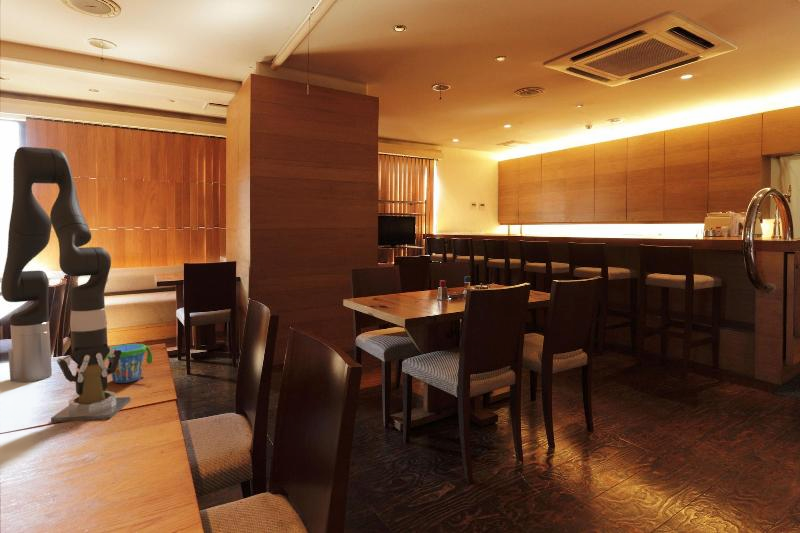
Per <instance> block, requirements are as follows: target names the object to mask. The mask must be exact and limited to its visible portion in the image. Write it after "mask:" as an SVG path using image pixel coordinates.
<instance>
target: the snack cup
mask: <svg viewBox="0 0 800 533" xmlns="http://www.w3.org/2000/svg"><path fill="white" fill-rule="evenodd" d="M109 348H110V349H118V350H120V351H121V355H120V358H119V361H118V364H117V367H116V370H115V372H114V373H111V374H110V375H111V379H112V381H113V382H114V383H116V384H126V383H132V382H135V381H137V380H141V377H142V374H143V367H144V356H145V354H146V352H147V354H146V355H147V356H146V363H147V364H150V365H151V364H152V363H153V353H152V351H151V348H150V347H149V346H147V345H145V344H142V343H127V344H118V345H114V346H110V347H109ZM109 355H110V354H109V353H108V355H107V356H106V358H105V359H104V364H106V362H105V361H106V360H107V359H108V363H109V362H110V359H111V357H110V356H109Z"/></svg>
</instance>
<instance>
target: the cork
mask: <svg viewBox="0 0 800 533" xmlns="http://www.w3.org/2000/svg"><path fill="white" fill-rule="evenodd" d="M80 368H81V367H79V369H80ZM102 371H103V369H102V368H101V366H99V365H98V364H91V365H87V367H86V369H85V370H84V372H83V373H82V376H83V377H84V378H83V382H84V385H83V393H82V396H81V395H79V401H78V403H79V404H84V403H93V402H98V401H102V400H104V399H105V395H104V391H103V386H102V381H101V374H102Z"/></svg>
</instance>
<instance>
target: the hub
mask: <svg viewBox="0 0 800 533" xmlns="http://www.w3.org/2000/svg"><path fill="white" fill-rule="evenodd" d="M104 395H105V399H104V400H102V401H98V402H93V403H84V404H79V403H78V401H79V395H78V394H77V395H76V396H73V397H72V398H70V399H68V405H67V406H66V407H65V408H64V409H62V410H60V411H59V412H57V413H56V414H54V415H52V417H50V422H51V423H58V422H59V423H60V422H61V423H62V422H75V421H91V420H92V421H93V420H95V421H96V420H110V419H112V418H113V417H114V416H116V414H118V413H119V411H121V410H122V409H123V408H124V407H125V406H127V404H128V403H130V402H131V401H132V400H131V397H130V396H126V397H125V396H124V397H117V394H116V392H115V391H110V390H105V391H104Z"/></svg>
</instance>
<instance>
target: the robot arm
mask: <svg viewBox="0 0 800 533" xmlns="http://www.w3.org/2000/svg"><path fill="white" fill-rule="evenodd" d="M34 184H51V185H52V184H54V185H55V184H56V185H57V186H58V188H59V190H58V194H57V196H56V199H55V201H54V203H53V205H52V207H51V209H50V214H48V213H47V212H46V210H45V209H44V208H43V207H42V206H41V204H40V203H39V201H38V200H37V198H36V197H35V195H34V193H33V185H34ZM12 186H13V188H12V189H13V191H12V192H13V193H12V204H11V213H10V217H9V224H8V227H9V228H8V238H7V253H6V260H5V264H4V268H3V273H2V277H1V285H0V292H1V296H2V298H3V299H4V301H6V302H8V303H23V302H32V301H33V302H32V304H31V305H30V306H28V307H27V308H24V309H23V310H21V311H18V312H16V313H13V314H12V315H11V316H10V319H9V323H10V337H11V339H10V340H11V349H9V350H8V366H9V378H10V382H17V383H26V382H27V383H28V382H35V381H40V380H44V379H47V378H49V377H51V376H52V375H53V370H52V354H51V353H52V352H51V337H50V336H51V335H50V334H51V333H50V319H49V314H50V313H49V310H50V309H49V278H48V275H47V273H46V272H44V270H24V269H25V267H26V266H27V265H28V263H29V262H31V261H32V260H34V258H36V257H37V256H38V255H39V254H41V252H43V251H44V250H45V249H46V247H47V246H48V244H49V242H50V239H51V232H52V228H53V230H54V233H55V235H56V238H57V241H58V247H59V248H58V249H59V251H58V252H59V254H58V255H59V258H58V263H59V264H58V265H59V269H60V270H61V271H62V272H63V274H65V275H66V276H68V277H86V276H90V277H89V278H88V280H87V282H85V283H83V284H79V285H77V286H74V287H71V289H70V294H69V297H70V317H69V318H70V320H69V321H70V322H69V323H70V326H69V327H70V340H71V345H70V346H71V350H70V353H69V355H67V356H65V357H63V358H58V359H57V360H56V362H57V364H58V367H59V368H60V370H61V372H62V373H63V375H64V377H65V379H66V380H68V382H71V383H72V382H74V383H75V393H76V394H77V396H78V395H81V396H82V393H83V385H84V382H83V378H84V377H83V376H82V373H83V372H84V370H85V369H86V367H87V365H91V364H98V365H99V366H101V368H102V369H103V371H102V374H101V381H102V386H103V391H106V389H108V376H109V375H111V373H114V372H115V370H116V367H117V364H118V361H119V358H120V355H121V351H120V350H118V349H110V347H109V344H108V319H107V314H106V313H107V312H106V308H105V290H106V285H107V280H108V277H109V274H110V271H111V267H112V259H111V258H112V257H111V255H110V253H109V252H108V251H107V249H105V248H104V247H98V246H94V247H93V246H90V247H87V246H85V245H87V244H88V243H89V242H91V240H92V233H91V230H90V227H89V226H88V223H87V220H86V218H85V216H84V215H83V211H82V209H81V206H80V201H79V199H78V197H79V196H78V193H77V189H76V186H75V181H74V176H73V173H72V168H71V166H70V163H69V160H68V158H67V156H66V154H65V153H64V152H63V151H61V150H59V149H55V148H47V147H46V148H45V147H32V146H21V147H18V148H17V149H16V150H15V153H14V157H13V185H12ZM82 246H85V247H82ZM108 353H109V354H110V355H109V356H110V357H111V359H110V362H109V361H108V366H107V368H106V365H105V364H106V363H105V364H104V359H105V358H106V356H107V355H108ZM71 361H73V362H74V363H76V367H75V374H74V375H73V373H72V371H71V369H70V367H69V366H70V365H71ZM79 367H81V368H80V369H79Z"/></svg>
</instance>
